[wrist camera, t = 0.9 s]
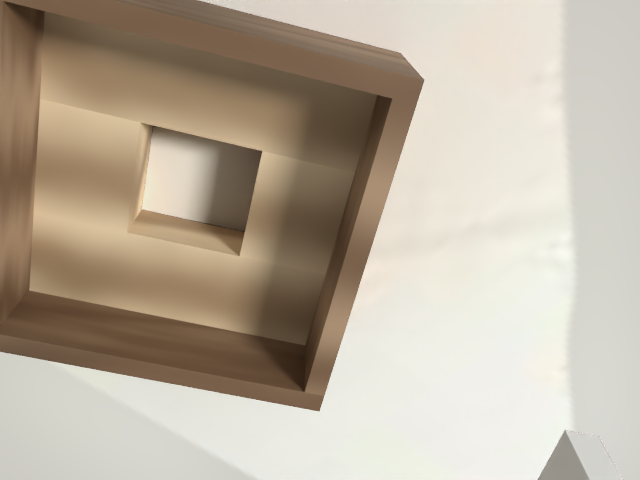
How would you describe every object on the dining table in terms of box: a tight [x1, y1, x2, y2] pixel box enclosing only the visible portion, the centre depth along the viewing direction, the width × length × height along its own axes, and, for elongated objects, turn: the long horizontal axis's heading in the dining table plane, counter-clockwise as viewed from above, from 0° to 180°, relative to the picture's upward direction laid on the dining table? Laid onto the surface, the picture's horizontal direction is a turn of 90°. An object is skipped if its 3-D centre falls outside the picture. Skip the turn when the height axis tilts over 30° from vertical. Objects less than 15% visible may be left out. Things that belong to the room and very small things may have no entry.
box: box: [0, 0, 424, 411], centre depth 30 cm, size 17×17×7 cm
